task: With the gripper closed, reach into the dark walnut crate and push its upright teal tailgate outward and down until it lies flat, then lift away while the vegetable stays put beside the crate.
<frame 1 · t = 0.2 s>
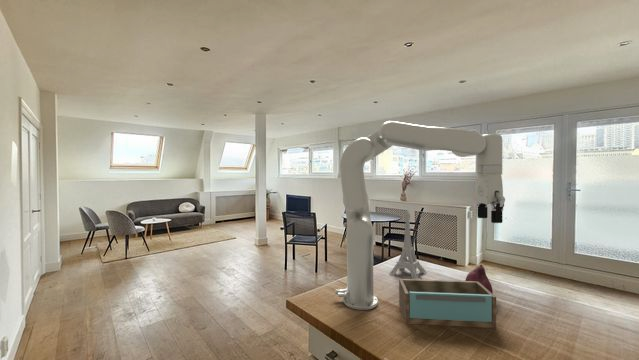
hand: (489, 220, 94), 31 cm above the table, tool pointing down, fingers open, 9 cm apart
vegetable: (477, 298, 103), on the table
tailgate: (449, 306, 84), point 6 cm above the table, hinge at 0.0°
crate: (443, 315, 90), on the table
eiffel tower: (407, 274, 128), on the table
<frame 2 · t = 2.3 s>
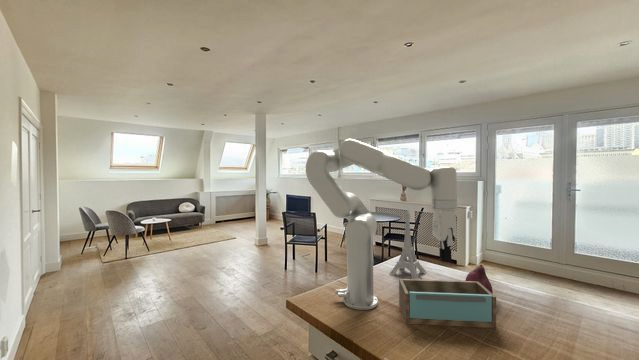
hand: (445, 260, 89), 18 cm above the table, tool pointing down, fingers closed
nothing on the table moved.
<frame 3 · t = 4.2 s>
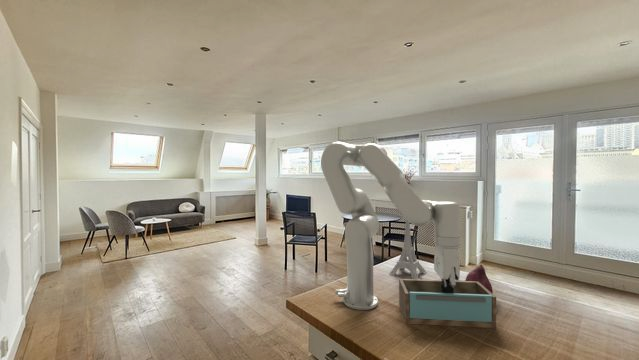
hand: (447, 298, 87), 7 cm above the table, tool pointing down, fingers closed
tailgate: (449, 306, 84), point 6 cm above the table, hinge at 0.4°, touching gripper
everything else where it was.
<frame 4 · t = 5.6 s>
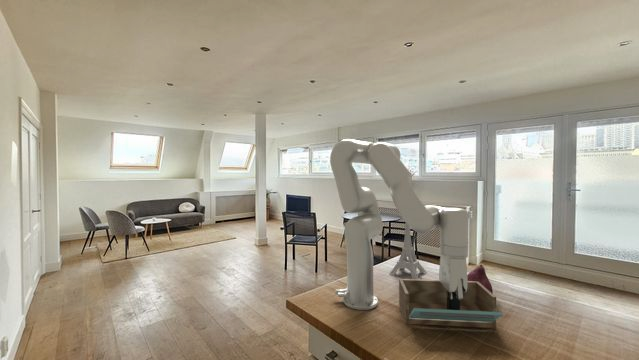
hand: (453, 310, 81), 6 cm above the table, tool pointing down, fingers closed
tailgate: (453, 316, 81), point 4 cm above the table, hinge at 49.2°, touching gripper
everything else where it was.
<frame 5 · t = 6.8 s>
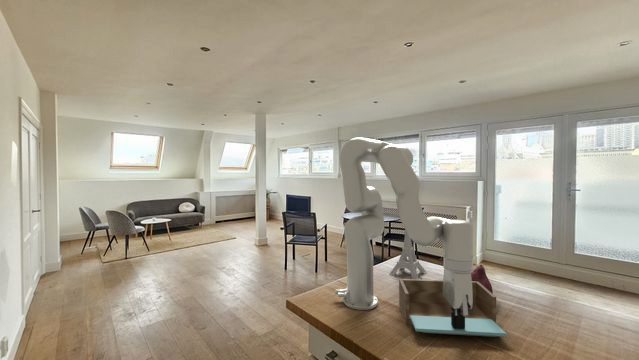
hand: (458, 327, 78), 3 cm above the table, tool pointing down, fingers closed
tailgate: (454, 326, 80), point 2 cm above the table, hinge at 87.2°, touching gripper
everything else where it was.
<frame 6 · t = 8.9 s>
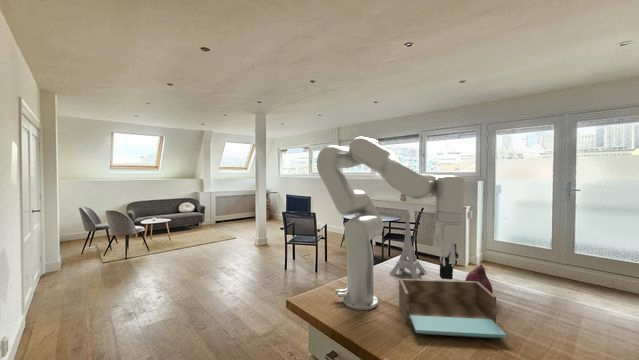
hand: (445, 277, 81), 16 cm above the table, tool pointing down, fingers closed
tailgate: (454, 326, 80), point 2 cm above the table, hinge at 90.1°
everything else where it was.
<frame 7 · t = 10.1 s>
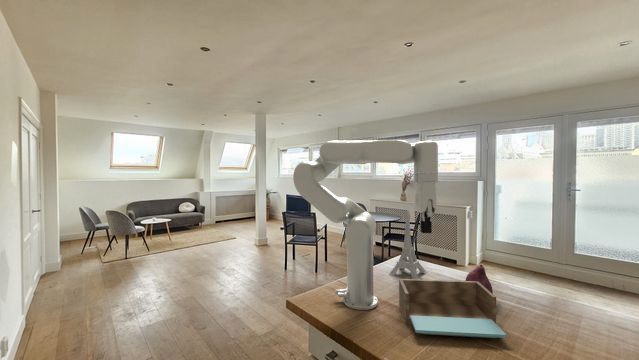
hand: (425, 232, 92), 27 cm above the table, tool pointing down, fingers closed
nothing on the table moved.
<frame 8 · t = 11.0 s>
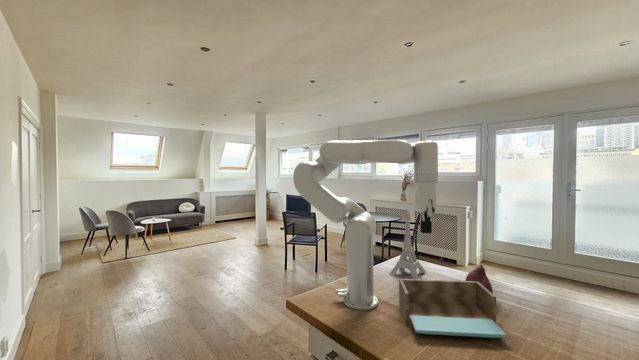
hand: (425, 232, 92), 27 cm above the table, tool pointing down, fingers closed
nothing on the table moved.
at the end: tailgate at +90° (first picture: +0°); vegetable moved 0.3 cm from its start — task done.
